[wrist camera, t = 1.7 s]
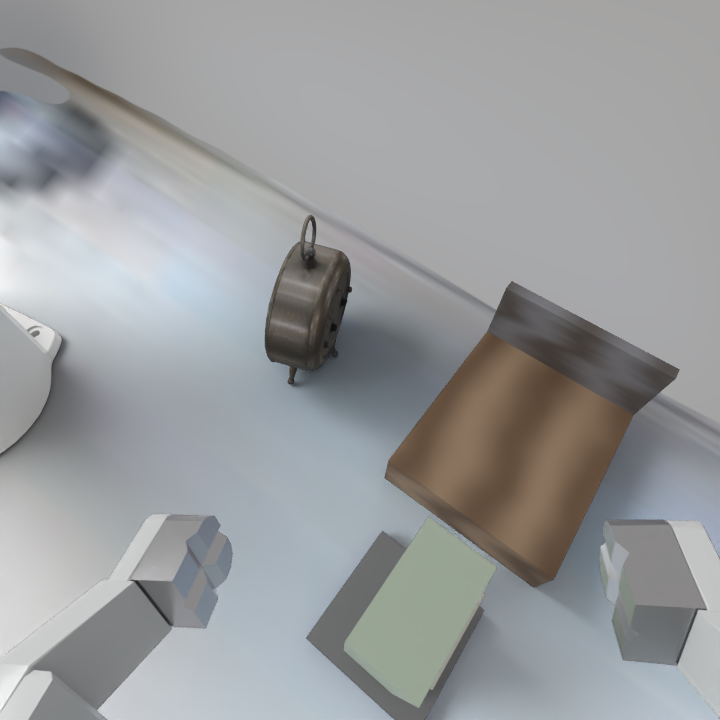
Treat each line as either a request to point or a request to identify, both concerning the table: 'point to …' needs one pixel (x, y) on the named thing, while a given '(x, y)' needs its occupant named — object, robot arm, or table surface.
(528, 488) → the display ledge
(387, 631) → the green pillar on base
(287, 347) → the alarm clock
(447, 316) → the table surface
